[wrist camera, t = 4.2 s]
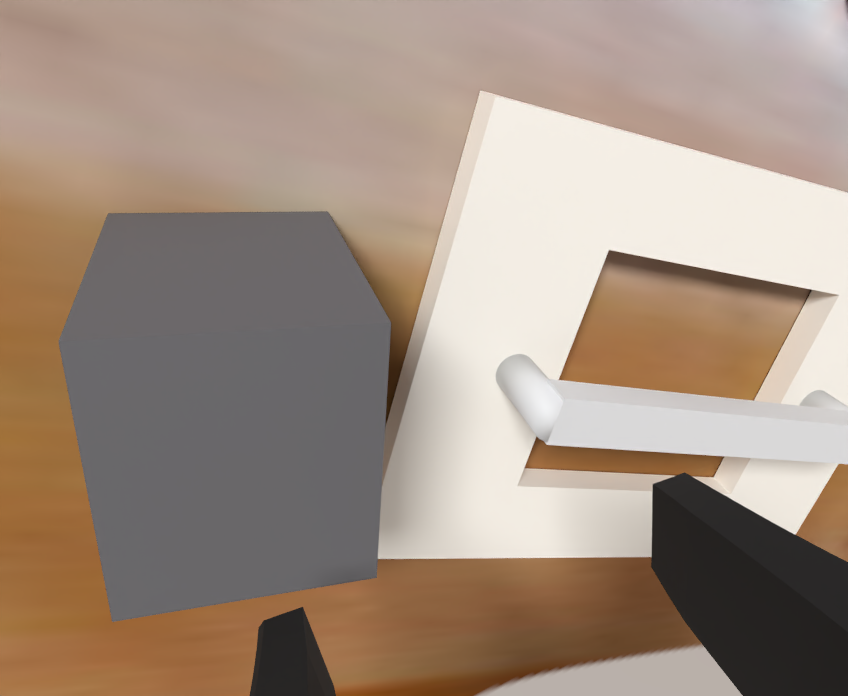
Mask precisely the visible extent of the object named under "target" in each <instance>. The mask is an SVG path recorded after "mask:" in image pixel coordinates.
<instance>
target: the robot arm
mask: <svg viewBox="0 0 848 696" xmlns="http://www.w3.org/2000/svg"><path fill="white" fill-rule="evenodd" d="M651 567H652V569H653V570H654V572H655V574H656V575H657V577H658V579H659V580H660V582H661V584H662V585H663V587H664V589H665V591H666V592H667V594H668V596H669V597H670V599H671V600H672V602H673V603H674V605H675V607H676V608H677V610H678V611H679V613H680V615H681V616H682V618H683V619H684V621H685V622H686V624H687V625H688V626H689V627H690V629H691V630H692V631H693V633H694V634H695V635H696V637H697V638H698V639H699V640H700V642H701V643H702V644H703V646H704V647H705V648H706V649H707V651H708V652H709V653H710V655H711V656H712V657H713V658H714V659H715V661H716V662H717V664H718V665H719V666H720V667H721V669H722V670H723V671H724V672H725V674H726V675H727V676H728V677H729V679H730V680H731V681H732V683H733V684H734V685H735V686H736V687H737V689H738V690H739V691H740V693H741V694H742V695H743V696H848V562H846V561H844V560H842V559H840V558H838V557H837V556H835V555H833V554H831V553H829V552H827V551H825V550H823V549H821V548H819V547H817V546H815V545H813V544H812V543H810V542H808V541H806V540H804V539H802V538H800V537H798V536H797V535H795V534H793V533H791V532H789V531H787V530H785V529H784V528H782V527H780V526H778V525H776V524H775V523H773V522H771V521H769V520H767V519H766V518H764V517H762V516H760V515H758V514H757V513H755V512H753V511H751V510H750V509H748V508H746V507H744V506H743V505H741V504H739V503H737V502H736V501H734V500H732V499H730V498H729V497H727V496H725V495H723V494H722V493H720V492H718V491H716V490H715V489H713V488H711V487H709V486H708V485H706V484H704V483H702V482H701V481H699V480H697V479H695V478H693V477H692V476H690V475H688V474H686V473H682V474H680V475H677V476H674V477H671V478H668V479H665V480H663V481H660V482H657V483H654V484H653V492H652V563H651ZM250 696H336V694H335V690H334V686H333V683H332V680H331V678H330V675H329V673H328V670H327V668H326V665H325V663H324V660H323V657H322V655H321V652H320V650H319V647H318V645H317V642H316V640H315V637H314V634H313V632H312V629H311V627H310V624H309V622H308V619H307V617H306V614H305V611H304V609H303V607H301V608H298V609H296V610H293V611H290V612H287V613H284V614H281V615H278V616H276V617H273V618H270V619H267V620H264V621H263V623H262V624H261V626H260V627H259V631H258V642H257V651H256V659H255V666H254V673H253V679H252V686H251V691H250Z"/></svg>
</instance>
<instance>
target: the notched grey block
mask: <svg viewBox="0 0 848 696" xmlns="http://www.w3.org/2000/svg"><path fill="white" fill-rule="evenodd" d="M390 334H391V321H390V320H389V318H388V316H387V314H386V313H385V311H384V309H383V307H382V306H381V304H380V302H379V300H378V299H377V297H376V295H375V293H374V292H373V290H372V288H371V286H370V285H369V283H368V281H367V279H366V278H365V276H364V274H363V272H362V271H361V269H360V267H359V265H358V264H357V262H356V260H355V258H354V257H353V255H352V253H351V251H350V250H349V248H348V246H347V244H346V243H345V241H344V239H343V237H342V236H341V234H340V232H339V230H338V229H337V227H336V225H335V223H334V222H333V220H332V218H331V216H330V215H329V213H328V212H227V213H114V214H108V215H107V218H106V220H105V223H104V225H103V228H102V231H101V233H100V236H99V238H98V241H97V243H96V246H95V249H94V251H93V254H92V256H91V259H90V262H89V264H88V267H87V269H86V272H85V275H84V277H83V280H82V282H81V285H80V287H79V290H78V293H77V295H76V298H75V300H74V303H73V306H72V308H71V311H70V313H69V316H68V318H67V321H66V324H65V326H64V329H63V331H62V334H61V337H60V339H59V347H60V352H61V357H62V362H63V367H64V373H65V378H66V383H67V388H68V393H69V399H70V404H71V409H72V414H73V419H74V425H75V430H76V435H77V440H78V445H79V451H80V456H81V461H82V466H83V471H84V477H85V482H86V487H87V492H88V498H89V503H90V508H91V513H92V518H93V524H94V529H95V534H96V539H97V544H98V550H99V555H100V560H101V565H102V570H103V576H104V581H105V586H106V591H107V596H108V602H109V607H110V612H111V617H112V622H114V621H120V620H126V619H132V618H138V617H144V616H150V615H156V614H162V613H168V612H174V611H180V610H186V609H192V608H198V607H204V606H210V605H216V604H222V603H228V602H234V601H240V600H246V599H252V598H258V597H264V596H270V595H276V594H282V593H288V592H294V591H300V590H306V589H312V588H318V587H324V586H330V585H336V584H342V583H348V582H354V581H360V580H366V579H372V578H377V562H378V544H379V527H380V509H381V492H382V474H383V457H384V439H385V422H386V404H387V387H388V369H389V351H390Z"/></svg>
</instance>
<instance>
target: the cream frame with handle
mask: <svg viewBox="0 0 848 696" xmlns="http://www.w3.org/2000/svg"><path fill="white" fill-rule="evenodd" d="M609 250H612V251H617V252H622V253H627V254H632V255H637V256H643V257H648V258H653V259H658V260H663V261H668V262H673V263H678V264H683V265H689V266H694V267H699V268H704V269H709V270H714V271H719V272H724V273H729V274H734V275H740V276H745V277H750V278H755V279H760V280H765V281H770V282H775V283H780V284H786V285H791V286H796V287H801V288H806V289H811V290H812V291H811V293H810V295H809V297H808V299H807V300H806V302H805V304H804V306H803V308H802V310H801V312H800V314H799V316H798V318H797V319H796V321H795V323H794V325H793V327H792V329H791V331H790V333H789V335H788V337H787V339H786V340H785V342H784V344H783V346H782V348H781V350H780V352H779V354H778V356H777V358H776V359H775V361H774V363H773V365H772V367H771V369H770V371H769V373H768V375H767V377H766V379H765V380H764V382H763V384H762V386H761V388H760V390H759V392H758V394H757V396H756V398H755V399H754V401H751V400H741V399H732V398H723V397H713V396H704V395H694V394H685V393H676V392H666V391H657V390H647V389H638V388H629V387H619V386H610V385H600V384H591V383H581V382H572V381H563V380H559V377H560V375H561V372H562V370H563V367H564V364H565V362H566V359H567V357H568V354H569V352H570V349H571V346H572V344H573V341H574V339H575V336H576V333H577V331H578V328H579V326H580V323H581V321H582V318H583V315H584V313H585V310H586V308H587V305H588V303H589V300H590V297H591V295H592V292H593V290H594V287H595V285H596V282H597V279H598V277H599V274H600V272H601V269H602V267H603V264H604V261H605V259H606V256H607V254H608V251H609ZM536 437H538V438H539V439H541V440H543V441H544V442H545V443H546V445H557V446H572V447H588V448H604V449H619V450H635V451H650V452H666V453H681V454H697V455H712V456H725V457H724V458H723V460H722V462H721V464H720V466H719V468H718V470H717V472H716V474H715V476H714V477H694V476H692V477H693V478H695V479H697V480H699V481H701V482H702V483H704V484H706V485H708V486H709V487H711V488H713V489H715V490H716V491H718V492H720V493H722V494H723V495H725V496H727V497H729V498H730V499H732V500H734V501H736V502H737V503H739V504H741V505H743V506H744V507H746V508H748V509H750V510H751V511H753V512H755V513H757V514H758V515H760V516H762V517H764V518H766V519H767V520H769V521H771V522H773V523H775V524H776V525H778V526H780V527H782V528H784V529H785V530H787V531H789V532H791V533H793V534H796V533H797V531H798V529H799V528H800V526H801V525H802V523H803V521H804V520H805V518H806V516H807V515H808V513H809V511H810V510H811V508H812V506H813V505H814V503H815V502H816V500H817V498H818V497H819V495H820V493H821V492H822V490H823V488H824V487H825V485H826V483H827V482H828V480H829V479H830V477H831V475H832V474H833V472H834V470H835V469H836V467H837V465H838V464H848V192H845V191H841V190H838V189H834V188H830V187H827V186H823V185H820V184H816V183H812V182H809V181H805V180H802V179H798V178H794V177H791V176H787V175H784V174H780V173H776V172H773V171H769V170H766V169H762V168H758V167H755V166H751V165H748V164H744V163H740V162H737V161H733V160H730V159H726V158H722V157H719V156H715V155H712V154H708V153H704V152H701V151H697V150H694V149H690V148H686V147H683V146H679V145H676V144H672V143H668V142H665V141H661V140H658V139H654V138H650V137H647V136H643V135H640V134H636V133H632V132H629V131H625V130H622V129H618V128H614V127H611V126H607V125H604V124H600V123H596V122H593V121H589V120H586V119H582V118H578V117H575V116H571V115H568V114H564V113H560V112H557V111H553V110H550V109H546V108H542V107H539V106H535V105H532V104H528V103H524V102H521V101H517V100H514V99H510V98H506V97H503V96H499V95H496V94H492V93H488V92H485V91H481V90H480V94H479V97H478V101H477V104H476V108H475V111H474V115H473V118H472V122H471V126H470V129H469V133H468V136H467V140H466V143H465V147H464V150H463V154H462V157H461V161H460V165H459V168H458V172H457V175H456V179H455V182H454V186H453V189H452V193H451V197H450V200H449V204H448V207H447V211H446V214H445V218H444V221H443V225H442V228H441V232H440V236H439V239H438V243H437V246H436V250H435V253H434V257H433V260H432V264H431V267H430V271H429V275H428V278H427V282H426V285H425V289H424V292H423V296H422V299H421V303H420V306H419V310H418V314H417V317H416V321H415V324H414V328H413V331H412V335H411V338H410V342H409V345H408V349H407V353H406V356H405V360H404V363H403V367H402V370H401V374H400V377H399V381H398V384H397V388H396V392H395V395H394V399H393V402H392V406H391V409H390V413H389V416H388V420H387V424H386V427H385V439H384V457H383V474H382V492H381V509H380V527H379V544H378V559H449V558H583V557H652V492H653V484H654V483H657V482H660V481H663V480H665V479H668V478H671V477H674V476H673V475H653V474H632V473H612V472H591V471H570V470H550V469H529V468H524V467H525V465H526V462H527V460H528V457H529V455H530V452H531V449H532V447H533V444H534V442H535V439H536Z"/></svg>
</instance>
